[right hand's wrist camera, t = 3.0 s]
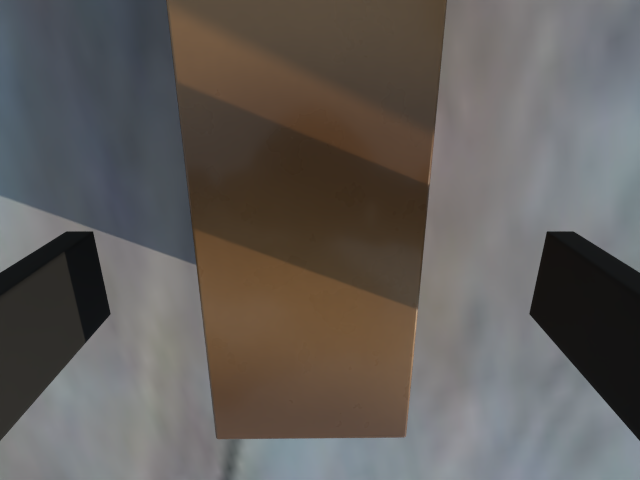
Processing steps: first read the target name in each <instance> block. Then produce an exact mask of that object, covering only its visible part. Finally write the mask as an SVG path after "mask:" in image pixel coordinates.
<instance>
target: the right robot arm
mask: <svg viewBox="0 0 640 480" xmlns="http://www.w3.org/2000/svg"><path fill="white" fill-rule="evenodd" d="M109 315H110V309H109V304H108V300H107V295H106V290H105V286H104V281H103V276H102V272H101V267H100V262H99V257H98V253H97V248H96V243H95V239H94V234H93V232H65V233H63V234H62V235H60V236H59V237H57V238H55V239H54V240H52V241H51V242H49V243H47V244H46V245H44V246H43V247H41V248H39V249H38V250H36V251H35V252H33V253H31V254H30V255H28V256H27V257H25V258H23V259H22V260H20V261H18V262H17V263H15V264H14V265H12V266H10V267H9V268H7V269H6V270H4V271H2V272H1V273H0V440H1V439H2V438H3V437H4V436H5V435H6V434H7V432H8V431H9V430H10V429H11V428H12V427H13V425H14V424H15V423H16V422H17V421H18V420H19V419H20V417H21V416H22V415H23V414H24V413H25V412H26V411H27V409H28V408H29V407H30V406H31V405H32V404H33V402H34V401H35V400H36V399H37V398H38V397H39V396H40V394H41V393H42V392H43V391H44V390H45V389H46V388H47V386H48V385H49V384H50V383H51V382H52V381H53V380H54V378H55V377H56V376H57V375H58V374H59V373H60V371H61V370H62V369H63V368H64V367H65V366H66V365H67V363H68V362H69V361H70V360H71V359H72V358H73V357H74V355H75V354H76V353H77V352H78V351H79V350H80V349H81V347H82V346H83V345H84V344H85V343H86V342H87V340H88V339H89V338H90V337H91V336H92V335H93V334H94V332H95V331H96V330H97V329H98V328H99V327H100V326H101V324H102V323H103V322H104V321H105V320H106V319H107V318H108V316H109ZM530 315H531V316H532V318H533V319H534V320H535V321H536V322H537V323H538V324H539V326H540V327H541V328H542V329H543V330H544V331H545V332H546V334H547V335H548V336H549V337H550V338H551V339H552V340H553V342H554V343H555V344H556V345H557V346H558V347H559V349H560V350H561V351H562V352H563V353H564V354H565V355H566V357H567V358H568V359H569V360H570V361H571V362H572V363H573V365H574V366H575V367H576V368H577V369H578V370H579V371H580V373H581V374H582V375H583V376H584V377H585V378H586V380H587V381H588V382H589V383H590V384H591V385H592V386H593V388H594V389H595V390H596V391H597V392H598V393H599V394H600V396H601V397H602V398H603V399H604V400H605V401H606V402H607V404H608V405H609V406H610V407H611V408H612V409H613V411H614V412H615V413H616V414H617V415H618V416H619V417H620V419H621V420H622V421H623V422H624V423H625V424H626V425H627V427H628V428H629V429H630V430H631V431H632V432H633V434H634V435H635V436H636V437H637V438H638V439H639V440H640V273H639V272H638V271H636V270H634V269H633V268H631V267H630V266H628V265H626V264H625V263H623V262H622V261H620V260H618V259H617V258H615V257H613V256H612V255H610V254H609V253H607V252H605V251H604V250H602V249H601V248H599V247H597V246H596V245H594V244H593V243H591V242H589V241H588V240H586V239H585V238H583V237H581V236H580V235H578V234H577V233H575V232H547V234H546V239H545V243H544V248H543V253H542V257H541V262H540V267H539V272H538V276H537V281H536V286H535V290H534V295H533V300H532V304H531V309H530Z"/></svg>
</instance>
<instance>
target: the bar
mask: <svg viewBox="0 0 640 480" xmlns="http://www.w3.org/2000/svg"><path fill="white" fill-rule="evenodd" d="M166 3H167V12H168V21H169V29H170V38H171V47H172V56H173V64H174V73H175V82H176V91H177V99H178V108H179V117H180V126H181V134H182V143H183V152H184V161H185V169H186V178H187V187H188V196H189V204H190V213H191V222H192V231H193V239H194V248H195V257H196V266H197V274H198V283H199V292H200V301H201V309H202V318H203V327H204V336H205V344H206V353H207V362H208V371H209V379H210V388H211V397H212V406H213V414H214V423H215V432H216V438H217V439H285V438H393V437H405V436H406V430H407V420H408V409H409V398H410V388H411V377H412V366H413V356H414V345H415V335H416V324H417V313H418V303H419V292H420V282H421V271H422V260H423V250H424V239H425V229H426V218H427V207H428V197H429V186H430V176H431V165H432V154H433V144H434V133H435V122H436V112H437V101H438V91H439V80H440V69H441V59H442V48H443V38H444V27H445V16H446V6H447V0H166Z"/></svg>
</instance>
